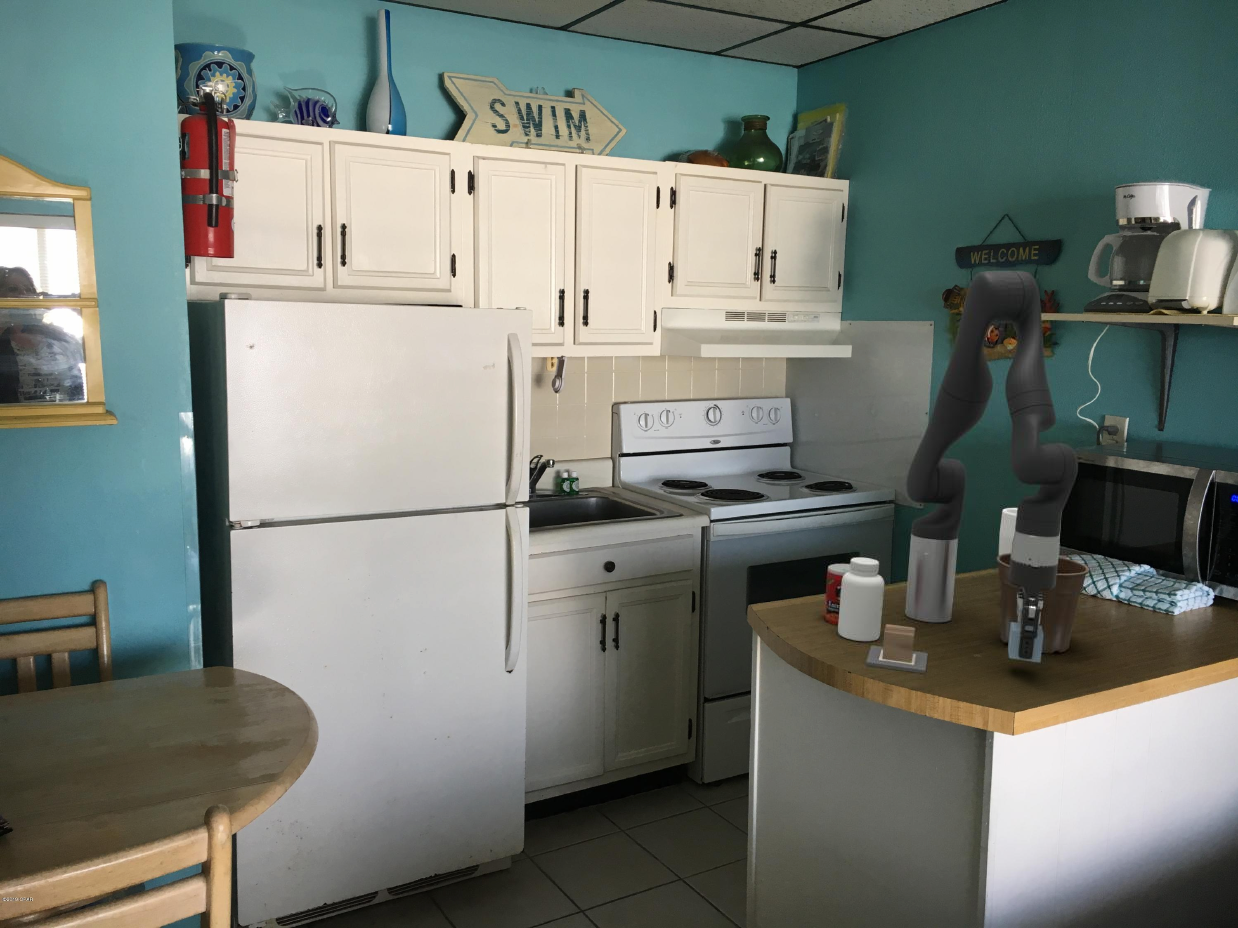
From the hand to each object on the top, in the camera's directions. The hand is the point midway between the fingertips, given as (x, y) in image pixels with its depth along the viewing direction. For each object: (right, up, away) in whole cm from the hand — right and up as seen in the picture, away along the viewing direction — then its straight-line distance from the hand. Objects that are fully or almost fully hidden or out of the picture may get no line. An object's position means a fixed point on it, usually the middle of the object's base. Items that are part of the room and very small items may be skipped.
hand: (1024, 652), depth 170 cm
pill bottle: (-24, -1, +19) cm, 31 cm away
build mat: (-21, -2, +5) cm, 21 cm away
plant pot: (+9, -2, +18) cm, 20 cm away
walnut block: (-21, -2, +5) cm, 21 cm away
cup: (+16, +1, +42) cm, 45 cm away
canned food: (-25, +1, +29) cm, 38 cm away
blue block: (0, -1, 0) cm, 1 cm away
